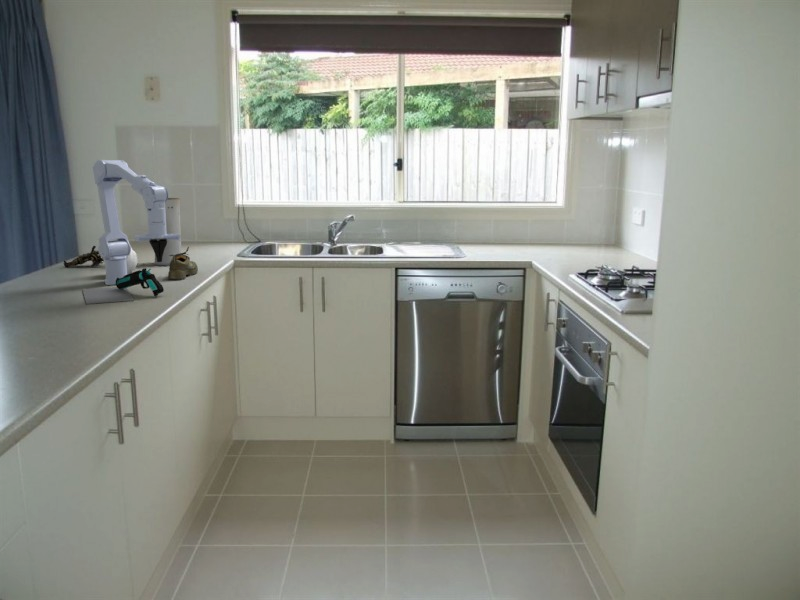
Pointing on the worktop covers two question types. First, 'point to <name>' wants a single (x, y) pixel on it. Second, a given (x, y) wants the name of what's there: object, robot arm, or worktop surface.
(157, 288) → the toy gun
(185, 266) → the hiking shoe
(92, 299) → the mat
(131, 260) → the decorative ball
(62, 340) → the worktop surface
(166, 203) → the vase
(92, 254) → the figurine
